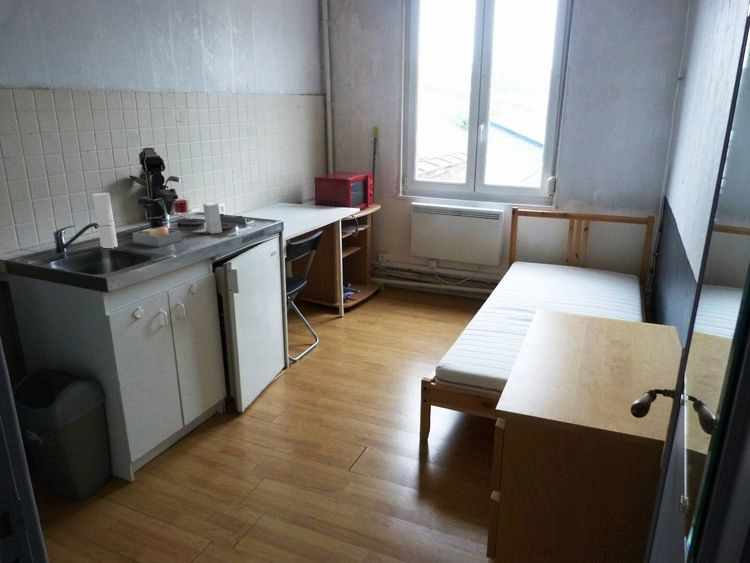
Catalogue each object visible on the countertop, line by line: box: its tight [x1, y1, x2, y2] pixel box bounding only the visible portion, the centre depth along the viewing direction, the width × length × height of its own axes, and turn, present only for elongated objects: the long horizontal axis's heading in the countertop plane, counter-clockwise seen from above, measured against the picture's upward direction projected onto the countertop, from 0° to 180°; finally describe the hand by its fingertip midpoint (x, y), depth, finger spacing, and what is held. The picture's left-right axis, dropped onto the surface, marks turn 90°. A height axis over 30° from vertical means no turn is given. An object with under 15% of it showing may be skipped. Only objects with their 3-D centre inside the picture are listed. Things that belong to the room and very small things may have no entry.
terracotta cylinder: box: [157, 226, 169, 236], centre depth 270 cm, size 5×5×7 cm
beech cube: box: [141, 228, 158, 236], centre depth 274 cm, size 5×5×5 cm
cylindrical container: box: [91, 192, 118, 249], centre depth 262 cm, size 7×7×25 cm
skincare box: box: [202, 201, 223, 234], centre depth 291 cm, size 8×6×15 cm
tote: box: [132, 228, 182, 248], centre depth 272 cm, size 18×14×5 cm
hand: (160, 216), depth 267 cm, fingers open, 9 cm apart
